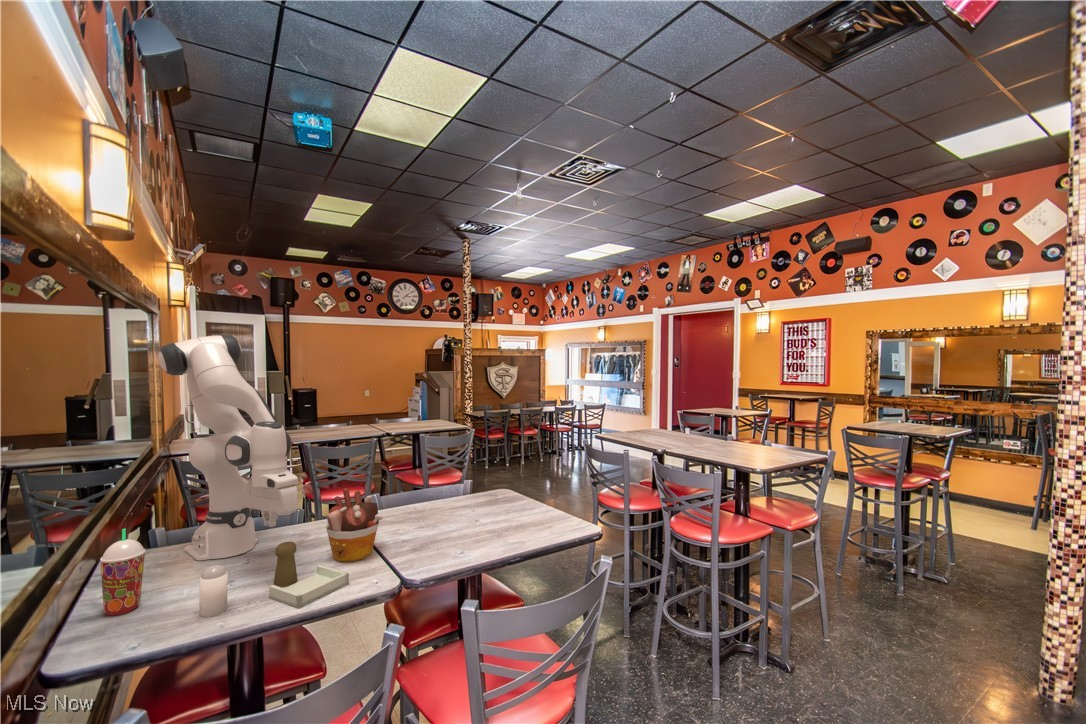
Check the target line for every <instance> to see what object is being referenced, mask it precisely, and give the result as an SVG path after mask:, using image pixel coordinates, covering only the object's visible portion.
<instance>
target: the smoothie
mask: <svg viewBox="0 0 1086 724" xmlns="http://www.w3.org/2000/svg"><path fill="white" fill-rule="evenodd" d="M126 530H127V529H126V528H122V529H121V533H122V534H121V540H118V541H116V542H113V543H112V544H111V545H109V546H108V547H107V549H106V550H105V551H104V553H103V555H102V556H101V557H100V558H99V559H100V575H101V576H100V577H101V588H102V589H101V591H102V606H103V608H102V609H103V611H105V613H106V615H107V616H111V617H112V616H119V615H120V616H121V615H124V614H127V613H130V612H131V611H134V610H135V609H136V608H137V607H139V606H138V605H139V603H140V602H141V597H142V590H143V589H142V587H143V579H144V578H143V577H144V567H145V557H146V548H144V546H143V545H142V544H141V543H140V541H137V540H136V539H130V538H126Z"/></svg>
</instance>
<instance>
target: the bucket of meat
mask: <svg viewBox="0 0 1086 724" xmlns="http://www.w3.org/2000/svg"><path fill="white" fill-rule="evenodd" d="M342 493H343V498H344V503H345V506H344V503H343V501H342V498H341V496H335V497H334V499H333V501H334V503H335V505H333V506H332V507H331V508H330V509H329V512H328V513H327V514H326V520H327V523H326V533H327V537H328V541H329V544H330V545H329V546H330V549H331V553H332V558H333V559H335V561H337V562H341V563H352V562H353V563H354V562H357V561H361V560H364V559H365V558H367V556H368V557H369V556H370V555H371V554H372V553H373V549H374V544H375V541H376V536H377V532H378V528H379V522H380V521H382V520H383V519H384V517H383V515H381V514H379V509H378V503H377V502H372V500H373V496H372V495H367V496H366V497H365V498H364V501H363V502H362V494H361V493H362V492H361V491H360V490H356V491H355V492H354V504H355V505H353V504H352V500H351V499H352V498H351V495H350V489H349V488H347V487H345V488H343V491H342Z"/></svg>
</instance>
